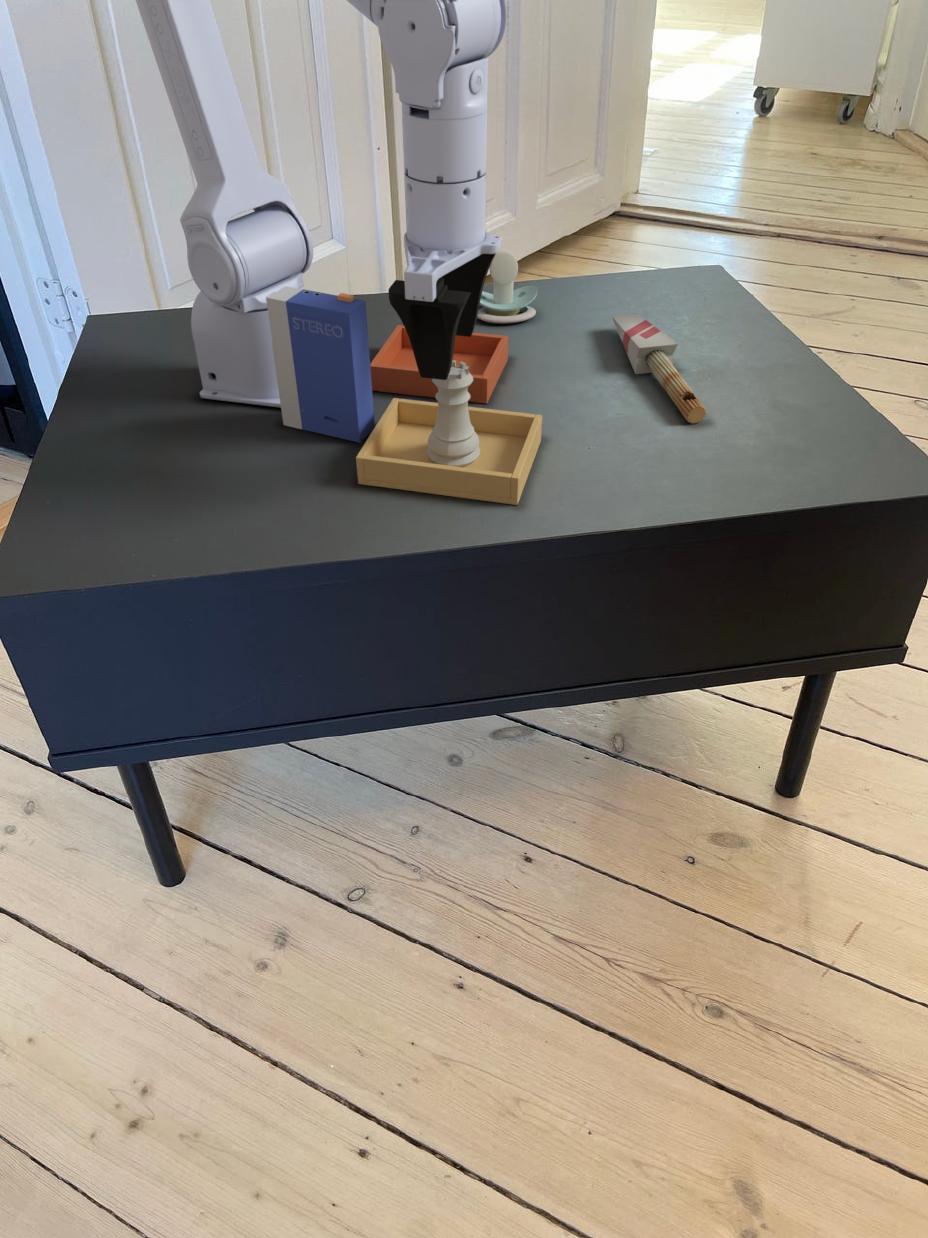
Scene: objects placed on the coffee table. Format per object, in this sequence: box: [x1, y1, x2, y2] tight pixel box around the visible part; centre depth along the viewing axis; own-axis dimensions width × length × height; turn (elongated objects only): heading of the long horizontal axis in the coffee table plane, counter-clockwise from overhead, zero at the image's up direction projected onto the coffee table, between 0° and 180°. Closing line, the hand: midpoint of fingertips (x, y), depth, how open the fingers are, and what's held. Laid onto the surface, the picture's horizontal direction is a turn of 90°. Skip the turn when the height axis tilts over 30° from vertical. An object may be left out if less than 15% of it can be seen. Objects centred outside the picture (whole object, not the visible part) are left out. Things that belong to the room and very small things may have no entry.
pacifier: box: [477, 251, 538, 324], centre depth 102 cm, size 7×6×6 cm
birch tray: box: [355, 397, 543, 506], centre depth 80 cm, size 13×10×2 cm
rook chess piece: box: [427, 360, 480, 467], centre depth 78 cm, size 4×4×8 cm
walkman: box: [266, 286, 376, 444], centre depth 82 cm, size 8×3×12 cm, turn 65°
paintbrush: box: [611, 312, 707, 424], centre depth 92 cm, size 4×3×20 cm
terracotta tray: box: [370, 324, 509, 405], centre depth 92 cm, size 11×9×2 cm
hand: (447, 354), depth 76 cm, fingers open, 7 cm apart
